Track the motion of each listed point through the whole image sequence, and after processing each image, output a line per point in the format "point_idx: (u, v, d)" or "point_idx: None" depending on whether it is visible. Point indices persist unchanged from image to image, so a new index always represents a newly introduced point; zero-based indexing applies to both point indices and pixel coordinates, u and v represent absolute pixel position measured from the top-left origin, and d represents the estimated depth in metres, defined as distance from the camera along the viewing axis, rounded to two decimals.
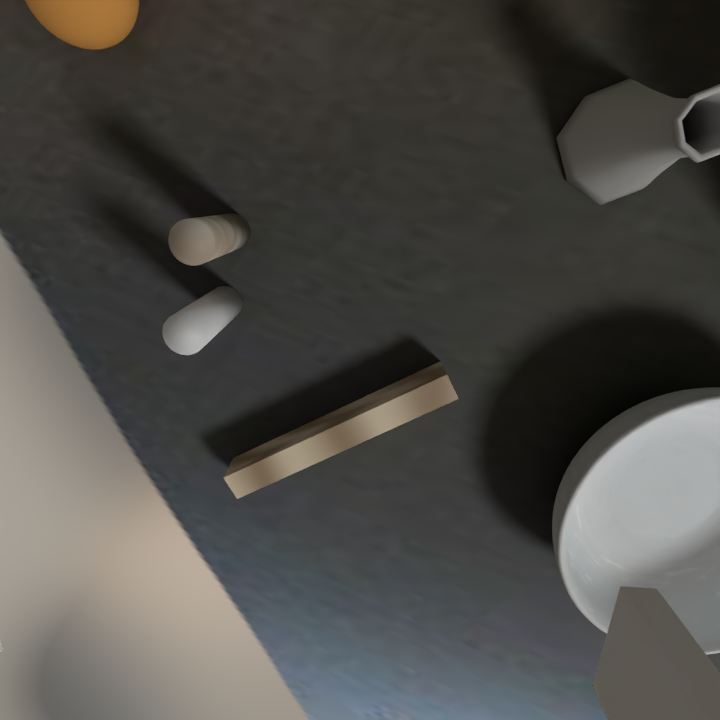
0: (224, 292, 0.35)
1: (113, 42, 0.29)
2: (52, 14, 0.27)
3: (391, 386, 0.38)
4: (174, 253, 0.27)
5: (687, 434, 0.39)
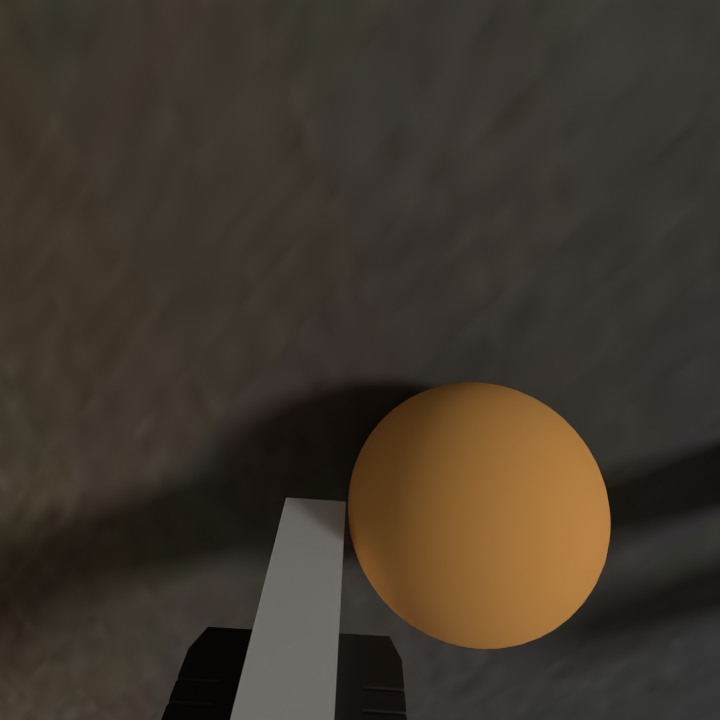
0: None
1: None
2: None
3: None
4: None
5: None
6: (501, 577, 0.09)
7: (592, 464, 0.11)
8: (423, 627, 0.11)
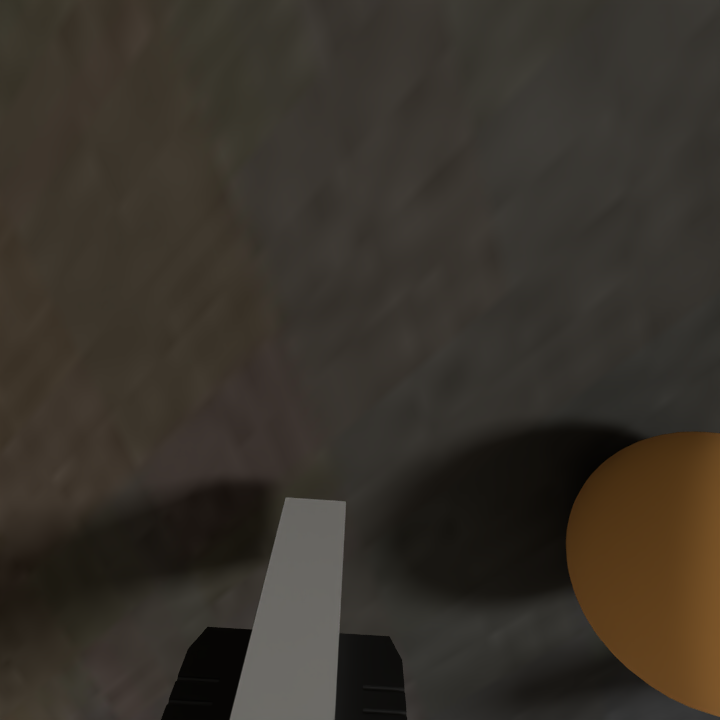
0: None
1: (659, 619, 0.10)
2: None
3: None
4: None
5: None
6: None
7: None
8: None
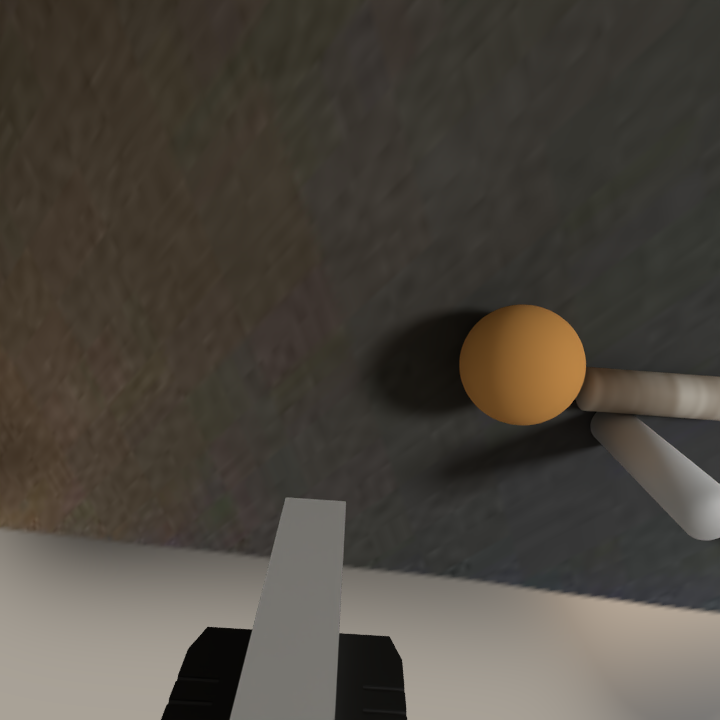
0: (618, 422, 0.28)
1: (485, 371, 0.24)
2: None
3: None
4: None
5: None
6: None
7: None
8: None
